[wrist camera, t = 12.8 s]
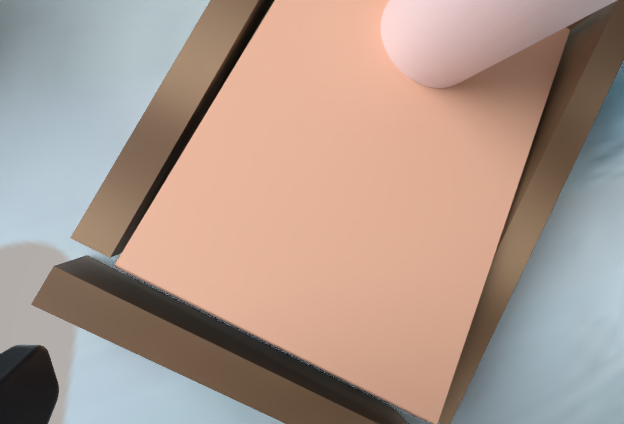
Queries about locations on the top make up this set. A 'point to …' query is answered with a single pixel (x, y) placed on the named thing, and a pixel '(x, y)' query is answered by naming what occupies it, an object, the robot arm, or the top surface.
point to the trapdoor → (347, 199)
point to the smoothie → (470, 33)
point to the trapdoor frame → (238, 346)
